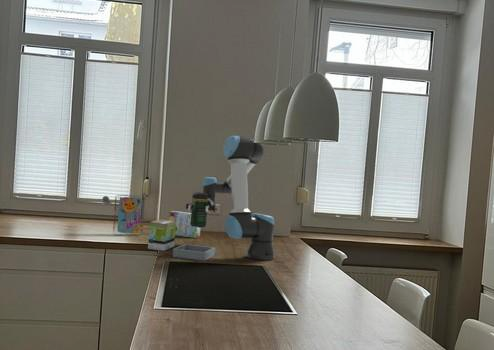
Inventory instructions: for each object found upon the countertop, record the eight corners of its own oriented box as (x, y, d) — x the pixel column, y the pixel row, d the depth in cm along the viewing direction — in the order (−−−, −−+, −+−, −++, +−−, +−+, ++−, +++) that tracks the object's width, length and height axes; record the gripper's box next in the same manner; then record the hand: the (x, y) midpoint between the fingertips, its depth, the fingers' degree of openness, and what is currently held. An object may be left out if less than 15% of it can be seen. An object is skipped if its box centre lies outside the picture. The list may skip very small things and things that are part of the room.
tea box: (165, 251, 273) (167, 223, 272) (147, 249, 275) (149, 221, 274) (174, 246, 287) (176, 220, 287) (157, 244, 289) (159, 218, 289)
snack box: (200, 237, 327) (202, 214, 327) (195, 238, 322) (197, 214, 322) (172, 233, 336) (173, 210, 336) (167, 234, 331) (169, 210, 330)
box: (100, 235, 305) (103, 194, 304) (99, 234, 311) (101, 193, 310) (142, 236, 315) (145, 196, 314) (140, 234, 320) (143, 195, 320)
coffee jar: (207, 228, 271) (210, 193, 270) (192, 227, 268) (195, 192, 268) (203, 225, 280) (205, 191, 280) (188, 225, 278) (191, 190, 277)
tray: (215, 255, 272) (215, 247, 272) (204, 260, 255) (204, 252, 255) (185, 251, 276) (185, 244, 276) (172, 256, 259) (173, 248, 259)
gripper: (223, 213, 291) (217, 217, 268) (186, 210, 293) (177, 214, 270) (224, 200, 291) (218, 203, 268) (187, 197, 293) (178, 199, 270)
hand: (197, 208), depth 269 cm, fingers closed on coffee jar, 8 cm apart
